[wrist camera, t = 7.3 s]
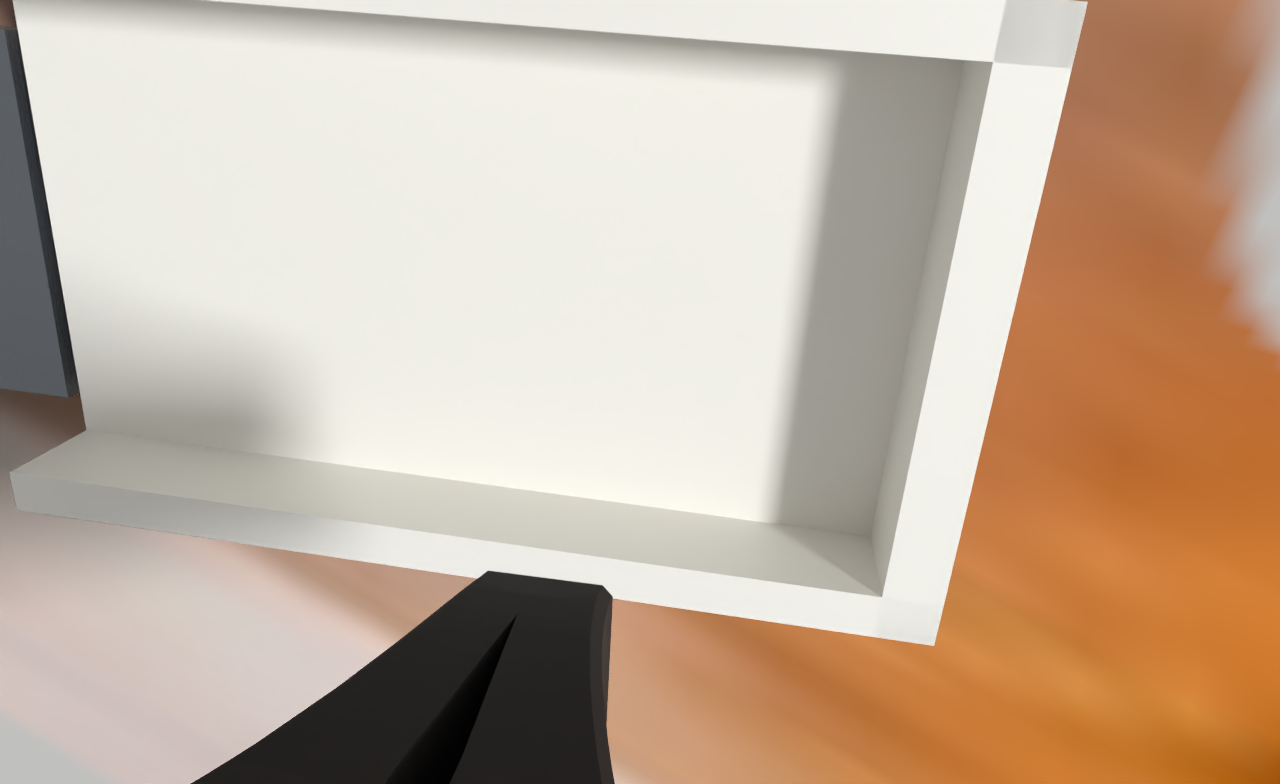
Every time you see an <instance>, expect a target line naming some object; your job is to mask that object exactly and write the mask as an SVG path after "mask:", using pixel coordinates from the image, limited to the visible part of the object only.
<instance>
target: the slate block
mask: <svg viewBox="0 0 1280 784" xmlns="http://www.w3.org/2000/svg"><path fill="white" fill-rule="evenodd" d="M0 389H7V390H15V391H22V392H30V393H37V394H44V395H52V396H59V397H67V398H68V397H70V396H73V395H75V394H77V393H79V392H80V390H79V384H78V378H77V372H76V366H75V361H74V355H73V349H72V343H71V337H70V332H69V326H68V320H67V314H66V308H65V302H64V297H63V291H62V285H61V279H60V273H59V267H58V262H57V256H56V250H55V244H54V238H53V232H52V227H51V221H50V215H49V209H48V203H47V198H46V192H45V186H44V180H43V174H42V168H41V163H40V157H39V151H38V145H37V139H36V133H35V128H34V122H33V116H32V110H31V104H30V98H29V93H28V87H27V81H26V75H25V69H24V64H23V58H22V52H21V46H20V40H19V34H18V29H17V27H14V26H3V25H0Z"/></svg>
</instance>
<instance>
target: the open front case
mask: <svg viewBox="0 0 1280 784" xmlns="http://www.w3.org/2000/svg"><path fill="white" fill-rule="evenodd" d="M1087 3H1088V2H1083V1H1069V0H13V5H14V11H15V17H16V23H17V29H18V34H19V40H20V46H21V52H22V58H23V64H24V69H25V75H26V81H27V87H28V93H29V98H30V104H31V110H32V116H33V122H34V128H35V133H36V139H37V145H38V151H39V157H40V163H41V168H42V174H43V180H44V186H45V192H46V198H47V203H48V209H49V215H50V221H51V227H52V232H53V238H54V244H55V250H56V256H57V262H58V267H59V273H60V279H61V285H62V291H63V297H64V302H65V308H66V314H67V320H68V326H69V332H70V337H71V343H72V349H73V355H74V361H75V366H76V372H77V378H78V384H79V390H80V396H81V401H82V407H83V413H84V419H85V425H86V431H84V432H82V433H80V434H78V435H76V436H75V437H73V438H71V439H69V440H67V441H65V442H64V443H62V444H60V445H58V446H56V447H55V448H53V449H51V450H49V451H47V452H45V453H44V454H42V455H40V456H38V457H36V458H34V459H33V460H31V461H29V462H27V463H25V464H24V465H22V466H20V467H18V468H16V469H14V470H13V471H11V472H9V475H10V480H11V484H12V489H13V494H14V499H15V503H16V508H17V510H19V511H26V512H33V513H39V514H46V515H53V516H60V517H66V518H73V519H80V520H87V521H93V522H100V523H107V524H114V525H120V526H127V527H134V528H141V529H147V530H154V531H161V532H168V533H175V534H181V535H188V536H195V537H202V538H208V539H215V540H222V541H229V542H235V543H242V544H249V545H256V546H262V547H269V548H276V549H283V550H289V551H296V552H303V553H310V554H316V555H323V556H330V557H337V558H344V559H350V560H357V561H364V562H371V563H377V564H384V565H391V566H398V567H404V568H411V569H418V570H425V571H431V572H438V573H445V574H452V575H458V576H465V577H472V578H479V577H480V576H482V575H483V574H484V573H486V572H487V571H496V572H504V573H512V574H519V575H527V576H535V577H543V578H550V579H558V580H566V581H574V582H581V583H589V584H597V585H603V586H604V587H605V588H606V590H607V591H608V592H609V593H610V594H611V595H612V596H613V598H614V599H621V600H627V601H634V602H641V603H648V604H654V605H661V606H668V607H675V608H681V609H688V610H695V611H702V612H709V613H715V614H722V615H729V616H736V617H742V618H749V619H756V620H763V621H769V622H776V623H783V624H790V625H796V626H803V627H810V628H817V629H823V630H830V631H837V632H844V633H850V634H857V635H864V636H871V637H878V638H884V639H891V640H898V641H905V642H911V643H918V644H925V645H932V646H934V644H935V639H936V635H937V631H938V627H939V623H940V618H941V614H942V610H943V606H944V602H945V598H946V593H947V589H948V585H949V581H950V577H951V572H952V568H953V564H954V560H955V556H956V551H957V547H958V543H959V539H960V535H961V531H962V526H963V522H964V518H965V514H966V510H967V505H968V501H969V497H970V493H971V489H972V484H973V480H974V476H975V472H976V468H977V463H978V459H979V455H980V451H981V447H982V443H983V438H984V434H985V430H986V426H987V422H988V417H989V413H990V409H991V405H992V401H993V396H994V392H995V388H996V384H997V380H998V375H999V371H1000V367H1001V363H1002V359H1003V355H1004V350H1005V346H1006V342H1007V338H1008V334H1009V329H1010V325H1011V321H1012V317H1013V313H1014V308H1015V304H1016V300H1017V296H1018V292H1019V287H1020V283H1021V279H1022V275H1023V271H1024V267H1025V262H1026V258H1027V254H1028V250H1029V246H1030V241H1031V237H1032V233H1033V229H1034V225H1035V220H1036V216H1037V212H1038V208H1039V204H1040V200H1041V195H1042V191H1043V187H1044V183H1045V179H1046V174H1047V170H1048V166H1049V162H1050V158H1051V153H1052V149H1053V145H1054V141H1055V137H1056V132H1057V128H1058V124H1059V120H1060V116H1061V112H1062V107H1063V103H1064V99H1065V95H1066V91H1067V86H1068V82H1069V78H1070V74H1071V70H1072V65H1073V61H1074V57H1075V53H1076V49H1077V44H1078V40H1079V36H1080V32H1081V28H1082V24H1083V19H1084V15H1085V11H1086V7H1087Z"/></svg>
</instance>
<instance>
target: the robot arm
mask: <svg viewBox="0 0 1280 784" xmlns="http://www.w3.org/2000/svg"><path fill="white" fill-rule="evenodd" d="M612 600H613V596H612V595H611V594H610V593H609V592H608V591H607V590H606V588H605V587H604V586H603V585H597V584H589V583H581V582H574V581H566V580H558V579H550V578H543V577H535V576H527V575H519V574H512V573H504V572H496V571H487V572H486V573H484V574H483V575H482V576H480V577H479V578H478V579H476V580H475V581H474V582H472V583H471V584H470V585H468V586H467V587H466V588H464V589H463V590H462V591H461V592H459V593H458V594H457V595H456V596H454V597H453V598H452V599H451V600H449V601H448V602H447V603H446V604H444V605H443V606H442V607H441V608H439V609H438V610H437V611H436V612H434V613H433V614H432V615H431V616H429V617H428V618H427V619H426V620H424V621H423V622H422V623H420V624H419V625H418V626H417V627H415V628H414V629H413V630H412V631H410V632H409V633H408V634H407V635H405V636H404V637H403V638H402V639H400V640H399V641H398V642H396V643H395V644H394V645H393V646H391V647H390V648H389V649H387V650H386V651H385V652H383V653H382V654H381V655H379V656H378V657H377V658H375V659H374V660H373V661H371V662H370V663H369V664H367V665H366V666H365V667H363V668H362V669H361V670H360V671H358V672H357V673H356V674H354V675H353V676H352V677H350V678H349V679H348V680H346V681H345V682H344V683H342V684H341V685H340V686H338V687H337V688H336V689H334V690H333V691H331V692H330V693H328V694H327V695H326V696H324V697H323V698H321V699H320V700H318V701H317V702H315V703H314V704H312V705H311V706H310V707H308V708H307V709H305V710H304V711H302V712H301V713H299V714H298V715H297V716H295V717H294V718H292V719H291V720H289V721H288V722H286V723H285V724H283V725H282V726H281V727H279V728H278V729H276V730H275V731H273V732H272V733H270V734H269V735H268V736H266V737H265V738H263V739H262V740H260V741H259V742H257V743H256V744H254V745H253V746H251V747H250V748H248V749H246V750H245V751H243V752H242V753H240V754H239V755H237V756H235V757H234V758H232V759H231V760H229V761H227V762H226V763H224V764H223V765H221V766H219V767H218V768H216V769H214V770H213V771H211V772H210V773H208V774H206V775H205V776H203V777H201V778H200V779H198V780H196V781H195V782H193V783H191V784H615V783H614V778H613V772H612V766H611V759H610V752H609V745H608V738H607V728H606V720H607V700H608V680H609V660H610V640H611V620H612Z"/></svg>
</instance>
